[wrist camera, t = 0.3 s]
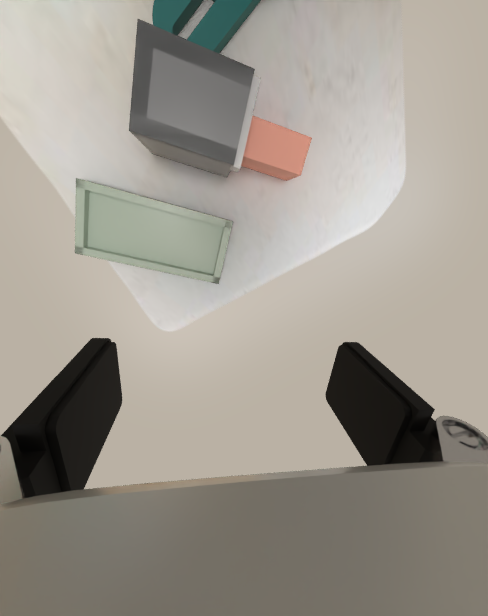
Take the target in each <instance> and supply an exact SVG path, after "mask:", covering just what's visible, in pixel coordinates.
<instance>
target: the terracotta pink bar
mask: <svg viewBox="0 0 488 616" xmlns="http://www.w3.org/2000/svg"><path fill="white" fill-rule="evenodd" d="M311 139H312V138H311V137H308V136H306V135H303V134H300V133H298V132H295V131H292V130H290V129H287V128H284V127H282V126H279V125H276V124H274V123H271V122H268V121H266V120H263V119H260V118H258V117H255V116H252V120H251V124H250V129H249V133H248V137H247V142H246V146H245V151H244V155H243V160H242V164H241V166H243V167H246V168H249V169H252V170H255V171H258V172H261V173H264V174H267V175H270V176H274V177H277V178H280V179H283V180H286V181H287V180H290V179H292V178H295V177H298V176H300V175H301V173H302V169H303V166H304V163H305V159H306V156H307V153H308V149H309V146H310V143H311Z"/></svg>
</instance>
